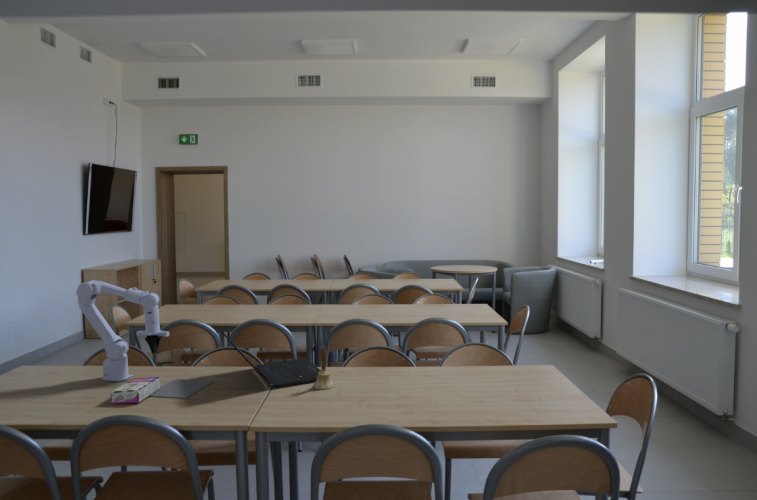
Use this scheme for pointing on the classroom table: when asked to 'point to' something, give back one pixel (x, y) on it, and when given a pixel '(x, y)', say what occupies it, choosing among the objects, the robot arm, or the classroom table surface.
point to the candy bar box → (135, 390)
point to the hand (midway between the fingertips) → (154, 352)
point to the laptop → (284, 371)
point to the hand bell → (323, 374)
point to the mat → (180, 388)
